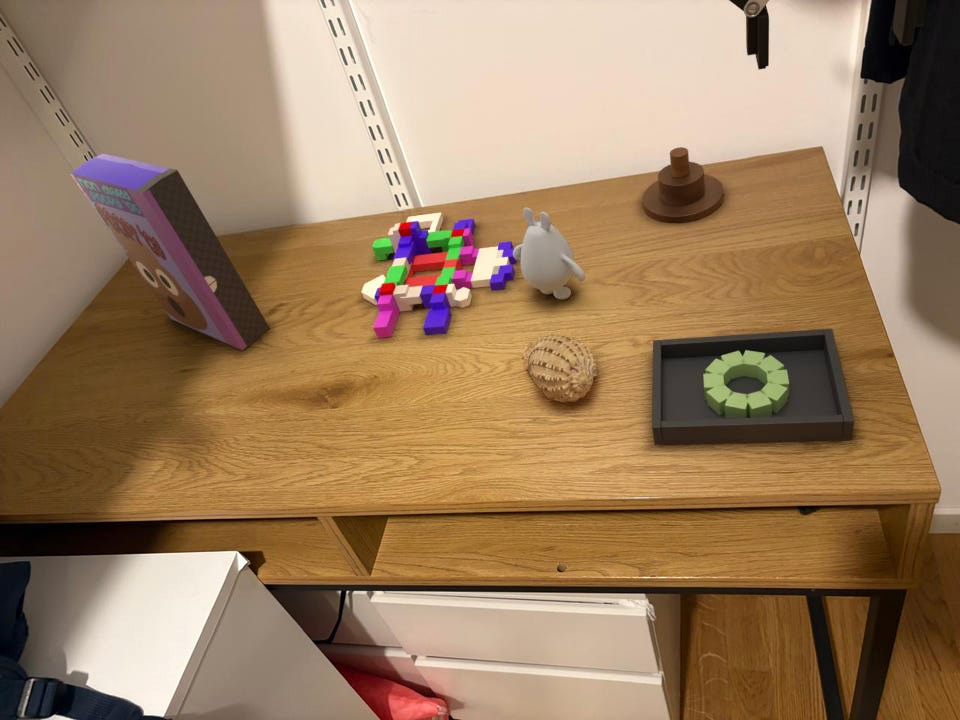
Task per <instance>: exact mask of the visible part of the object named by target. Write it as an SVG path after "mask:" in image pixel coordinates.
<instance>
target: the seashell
mask: <svg viewBox="0 0 960 720" xmlns="http://www.w3.org/2000/svg"><path fill="white" fill-rule="evenodd" d="M521 356H522V357H521V359H522V360H523V365H524V366H525V369H526V371H528V372H529V374H530V376H531V377H533V378H532V379H533V380H534V385H535V386H536V387H537V388H539V389H540V390H541V391H542V392H543V393H544V395H545V396H546V397H547V398H548V399H550V400H553V401H557V402H561V403H564V402H570V403H576V402H577V401H578V400H580V399H582V398H585V396H586V394H587V393H588V392H590V390H591V387H592V385H593V383H594V378H595V377H597V376H598V365H597V363H598V362H597V358H596V357H595V355H594V353H593V352H592V350H591V348H589V347H588V346H586V345H585V344H584V343H583V342H582V341H580V340H579V339H577V338H575V337H572V336H567V335H561V334H548V335H545V336H543V337H540V338H539V339H537V340H536V341H535V342H528V343H526V344H525V345H524V348H523V351H522V353H521Z"/></svg>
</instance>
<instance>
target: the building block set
mask: <svg viewBox="0 0 960 720" xmlns="http://www.w3.org/2000/svg"><path fill="white" fill-rule="evenodd" d="M443 222H444V216H443V213H442V212H435V213H428V214H427V213H426V214H420V215H411V216H407V218H406V221H405V222H398V223H395V224H394V226H393V227H390V229H389V231H388V233H387V237H384V238H378V239H375V240H374V242H373V244H372V247H371V248H372V251H373V253H374V256H375V259H376V261H378V262H379V261H384V260H388V258H389V256H390V255H391V254H394V256H393V258H392V259H393V261H392V265H391V266H389V268H388V271H387V274H386V276H385V275H384V274H381V275H378V276H377V277H376V278H374V279H372V280H369V281H367V282H365V283H364V284H363V287H362V289H361V291H360V292H361V295H362V297H363V299H364V300H366V301H368V302H370V303H371V304H373V305H375V306H377V308H378V314H377V317H376V320H375V322H374V325H373V327H372V329H373V331H374V332H375V335H376V337H377V338H378V339H383V338H384V339H385V338H392V336H393V331H394V329H395V327H396V325H397V321H398V319H399V315H400V313H401V312H409V311H411V312H412V311H413V308H414V307H415V305H419V304H423V306H424V309H428V310H427V315H426V317H425V321H424V324H423V326H422V329H423V332H424V334H425V336H428V335H429V336H431V335H442V334H447V333H448V329H449V326H450V322H451V319H452V313H451V310H450V309H451V308H453V307H458V308H461V309H463V308H466V307H468V306H470V305H471V301H472V298H473V295H472V292H471V289H476V288H487V287H490V289H491V291H497V290H505V289H506V284H507V281H513V280H514V278H515V273H516V270H515V267H514V264H517V262H518V260H516V259H515V258H514V256H513V250H514V246H513V241H510V240H509V241H502V242H499V243H498V246H490V247H481V248H480V247H479V248H475V247H474V246H475V239H474V232H475V228H476V223H475V219H474V218H466V219H459V220H458V221H457V222H455V223H454V225H453V228H452V230H447V229H446V230H441V228H442V225H443ZM423 229H426V230H423ZM440 247H441V249H442V250H441V251H442V252H436V253H433V250H434V248H440ZM467 265H474V267H473V271H472V272H468V269H462V268H463V266H467ZM435 270H441V273H439V274H431V275H422V276H414V273H417V272H425V271H435Z"/></svg>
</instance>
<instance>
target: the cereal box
mask: <svg viewBox="0 0 960 720" xmlns="http://www.w3.org/2000/svg"><path fill="white" fill-rule="evenodd" d="M69 175H70V176H71V178H72V179H73V180H74V183H76V185H77V186H78V188H79V190H81V192H82V193H83V195H84V197H85V199H86V200H87V201H88V202H89V204H90V205H91V207H92V208H93V209H94V211H95V212H96V213H97V215H98V217H99V218H100V219H101V221H102V223H104V225H105V226H106V229H108V231H109V232H110V234H111V236H113V238H114V240H115V241H116V242H117V244H118V245H119V247H120V248H121V250H122V251H123V252H124V254H125V255H126V257H127V258H128V260H129V261H130V263H131V264H132V265H133V267H134V269H135V270H136V271H137V273H138V274H139V275H140V277H141V278H142V280H143V281H144V282H145V284H146V286H147V287H148V288H149V290H150V291H151V293H152V294H153V295H154V297H155V298H156V300H157V301H158V302H159V304H160V305H161V307H162V309H163V310H164V311H165V312H166V314H167V316H168V317H169V319H170V320H171V321H173V322H175V323H177V324H180V325H182V326H185V327H187V328H189V329H191V330H193V331H195V332H198V333H200V334H203V335H205V336H207V337H210V338H212V339H214V340H216V341H219V342H221V343H223V344H225V345H228V346H230V347H233V348H235V349H237V350H239V351H240V352H244V351H246V350H247V349H248V348H249V347H251V346H252V345H253V344H254V343H255V342H256V341H257V340H259V339H260V338H261V337H262V336H263V335H264V334H265V333H266V332H268V331H269V330H270V329H271V328H270V326H269V324H268V322H267V321H266V319H265V317H264V316H263V314H262V312H261V311H260V309H259V308H258V306H257V303H256V302H255V300H254V299H253V297H252V295H251V293H250V291H249V290H248V288H247V286H246V285H245V283H244V282H243V280H242V278H241V276H240V275H239V273H238V271H237V268H235V266H234V264H233V263H232V260H231V259H230V258H229V256H228V254H227V253H226V250H225V249H224V247H223V246H222V244H221V242H220V241H219V239H218V237H217V235H216V234H215V232H214V230H213V229H212V227H211V225H210V223H209V221H208V220H207V218H206V216H205V215H204V213H203V211H202V209H201V207H200V206H199V204H198V202H197V201H196V199H195V198H194V195H193V194H192V193H191V190H190V189H189V187H188V186H187V184H186V183H185V181H184V179H183V177H182V175H181V174H180V172H179V170H178V169H174V168H170V167H165V166H160V165H156V164H152V163H147V162H143V161H138V160H134V159H129V158H125V157H119V156H116V155H112V154H106V153H100V154H99V155H97V156H95V157H94V156H93V157H92V158H90V159H89V160H86V161H85V162H84V163H82V164H81V165H79V166H78V167H77V168H75V169H74V170H72V171H71V172H69Z"/></svg>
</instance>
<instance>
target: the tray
mask: <svg viewBox="0 0 960 720" xmlns="http://www.w3.org/2000/svg"><path fill="white" fill-rule="evenodd" d="M745 350H748V351H754V352H761V353H765V358H766V357H768V356H770V355H771V356H772V357H774V358H775V359H776V360H778V361H779V362H780V363H782V364H783V365H784V370H787V372H788V378H789V396H788V397H787V402H786V403H785V405H784V406H783V407H782V408H781V409H780V410H779V412H778V413H774V412H772V417H762V418H750V417H749V416H747V418H733V419H727V418H725V413H723V414H722V415H719V414H718V413H716V412H715V411H714V410H713V409H712V408H711V407H710V406H709V405H708V404H707V400H705V394H704V378H703V374H706V372H705V370H706V368H707V367H708V366H709V365H710V364H711V363H712V362H713V361H714V360H715V359H719V360H721V356H722V355H725V354H729V353H732V352H736V351H740V353H741V355H742V356H743V355H744V353H745ZM846 385H847V384H846V380H845V377H844V372H843V368H842V363H841V359H840V355H839V351H838V347H837V342H836V338H835V334H834V329H833V328H820V329H819V328H818V329H805V330H803V329H802V330H790V331H788V330H787V331H774V332H773V331H772V332H757V333H741V334H727V335H712V336H698V337H697V336H696V337H682V338H681V337H680V338H668V339H654V340H652V389H651V390H652V395H651V401H652V402H651V429H652V437H653V444H654V445H655V446H665V445H666V446H668V445H707V444H710V445H711V444H744V443H745V444H746V443H748V444H749V443H782V442H783V443H784V442H785V443H786V442H790V443H791V442H824V441H827V442H829V441H830V442H831V441H852V440H853V433H854V425H855V419H854V418H855V417H854V414H853V409H852V405H851V401H850V398H849V397H850V396H849V394H848V393H849V392H848V389H847V386H846ZM764 386H765V384H764V383H762V382H761V381H760V380H759V379H757V378H752V377H746V376H742V377H739V378H735V379H732V380H730V381H729V382H728V384H727V385H726V387H727V388H729V389H730V390H731V391H732V392H736V393H741V394H751V393H754V392H758V391H761V390H762V389H763V388H764Z"/></svg>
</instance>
